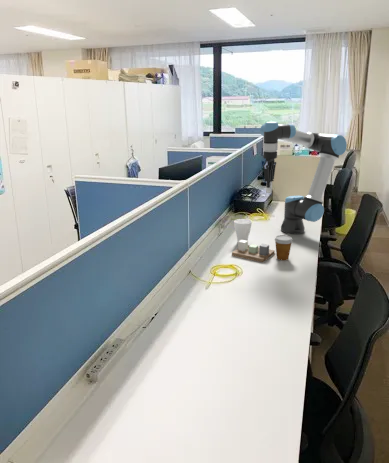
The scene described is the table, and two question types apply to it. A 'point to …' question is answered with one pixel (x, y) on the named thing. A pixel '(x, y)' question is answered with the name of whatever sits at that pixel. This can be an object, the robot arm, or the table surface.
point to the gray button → (264, 249)
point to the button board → (252, 255)
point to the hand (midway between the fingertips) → (268, 192)
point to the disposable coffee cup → (283, 246)
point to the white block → (242, 245)
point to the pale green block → (253, 248)
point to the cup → (242, 229)
